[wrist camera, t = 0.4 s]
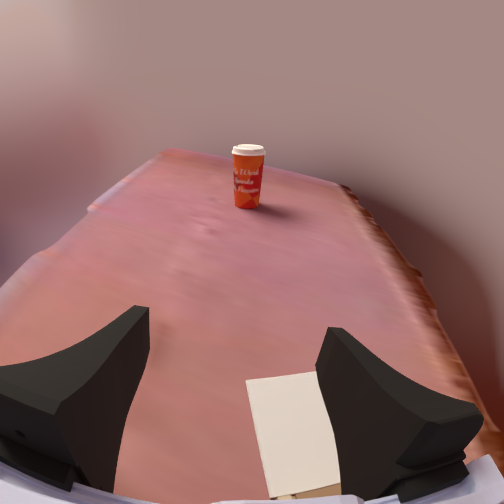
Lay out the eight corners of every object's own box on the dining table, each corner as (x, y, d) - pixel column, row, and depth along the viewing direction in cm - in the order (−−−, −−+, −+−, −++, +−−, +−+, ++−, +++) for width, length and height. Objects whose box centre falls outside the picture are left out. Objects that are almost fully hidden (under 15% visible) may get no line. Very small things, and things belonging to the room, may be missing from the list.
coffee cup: (225, 207, 77) (225, 147, 69) (238, 197, 84) (239, 142, 76) (256, 213, 74) (260, 151, 67) (267, 202, 81) (271, 146, 74)
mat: (407, 459, 22) (408, 458, 22) (270, 498, 20) (270, 497, 20) (360, 365, 34) (360, 362, 34) (245, 382, 32) (245, 380, 32)
